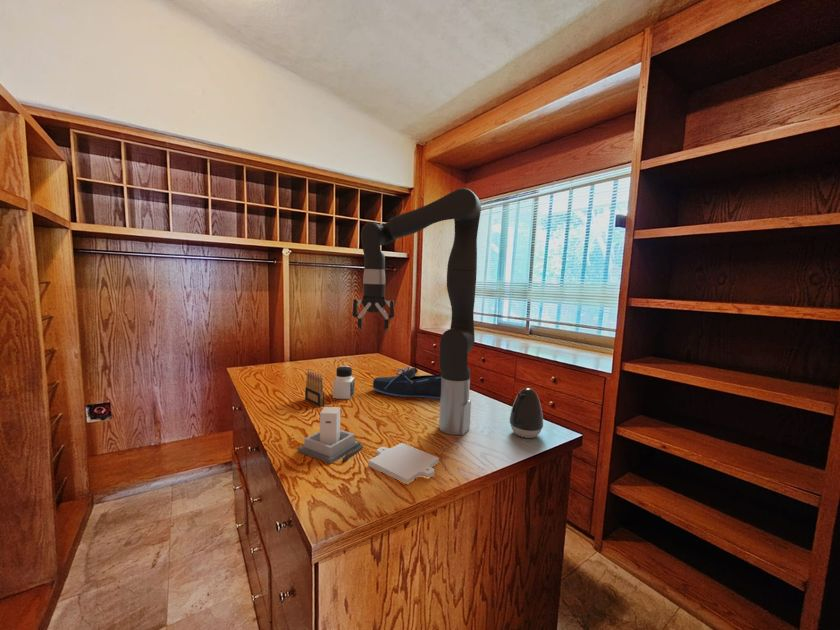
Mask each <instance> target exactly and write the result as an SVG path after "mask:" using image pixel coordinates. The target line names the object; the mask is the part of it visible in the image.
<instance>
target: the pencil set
mask: <svg viewBox="0 0 840 630" xmlns="http://www.w3.org/2000/svg"><path fill="white" fill-rule="evenodd" d="M323 382H324V381H323V375H322V374H320V373H317V372H315V371H312V370H310V369H308V370H307V372H306V381H305V383H306V384H305V387H304V389H305V390H304V391H305V394H304V400H305V401H306V400H307V401H306V402H308V401H309V402H308V403H310V402H311V404H312V403H313V404H312V405H314V404H315V406H316V405H317V407H318V406H319V408H322V407H325V392H324V383H323Z"/></svg>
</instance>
